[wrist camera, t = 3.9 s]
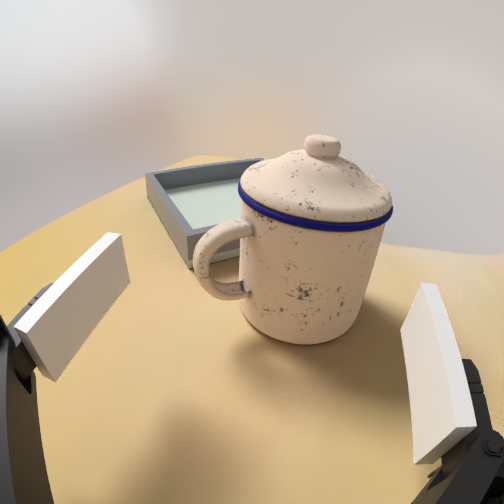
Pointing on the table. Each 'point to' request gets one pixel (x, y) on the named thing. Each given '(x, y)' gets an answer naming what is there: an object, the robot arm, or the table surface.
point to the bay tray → (198, 203)
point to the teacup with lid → (301, 243)
